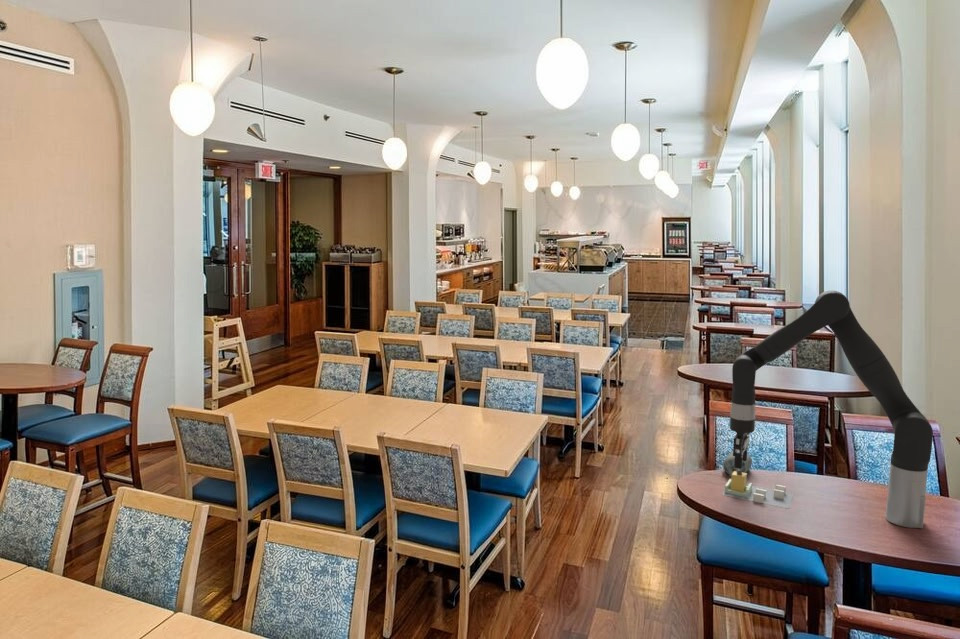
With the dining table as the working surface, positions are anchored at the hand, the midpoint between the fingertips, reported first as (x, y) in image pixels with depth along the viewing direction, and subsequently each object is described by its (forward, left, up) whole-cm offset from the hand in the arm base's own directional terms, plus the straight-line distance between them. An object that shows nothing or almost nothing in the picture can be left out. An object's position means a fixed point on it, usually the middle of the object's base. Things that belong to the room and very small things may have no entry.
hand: (740, 464), depth 210 cm
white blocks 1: (-7, +3, -9) cm, 12 cm away
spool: (+4, -19, -11) cm, 22 cm away
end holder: (0, 0, -9) cm, 9 cm away
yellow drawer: (0, 0, -9) cm, 9 cm away
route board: (-6, -1, -10) cm, 12 cm away
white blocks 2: (-12, -4, -9) cm, 16 cm away
